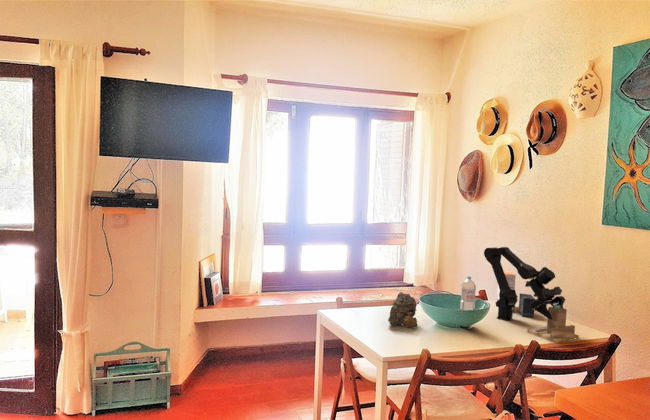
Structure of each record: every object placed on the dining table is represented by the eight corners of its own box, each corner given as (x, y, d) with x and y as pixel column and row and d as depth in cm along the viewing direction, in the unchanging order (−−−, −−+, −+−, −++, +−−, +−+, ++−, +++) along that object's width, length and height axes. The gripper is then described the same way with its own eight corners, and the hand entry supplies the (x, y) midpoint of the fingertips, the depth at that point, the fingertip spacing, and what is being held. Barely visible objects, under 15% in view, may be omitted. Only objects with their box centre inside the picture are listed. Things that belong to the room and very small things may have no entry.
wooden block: (546, 332, 217) (548, 304, 216) (554, 330, 220) (556, 303, 219) (557, 335, 212) (558, 307, 212) (564, 334, 215) (566, 306, 214)
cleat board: (527, 332, 221) (527, 321, 220) (549, 328, 228) (550, 317, 228) (555, 342, 207) (556, 331, 207) (578, 338, 214) (579, 327, 214)
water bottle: (473, 325, 229) (476, 276, 227) (473, 329, 222) (476, 278, 221) (459, 323, 231) (462, 274, 229) (458, 327, 224) (461, 277, 223)
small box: (534, 317, 246) (536, 298, 246) (522, 316, 248) (523, 297, 247) (530, 312, 257) (531, 294, 256) (517, 311, 258) (519, 293, 257)
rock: (391, 286, 233) (417, 286, 223) (403, 304, 240) (429, 304, 230) (379, 316, 222) (406, 317, 212) (392, 334, 229) (419, 336, 219)
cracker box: (496, 303, 273) (498, 269, 272) (506, 304, 273) (508, 269, 271) (502, 310, 259) (505, 273, 258) (513, 310, 259) (516, 274, 257)
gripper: (537, 282, 214) (556, 311, 205) (563, 279, 223) (583, 307, 214) (522, 294, 222) (540, 323, 213) (548, 291, 230) (566, 319, 221)
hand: (558, 318), depth 215 cm, fingers open, 9 cm apart
